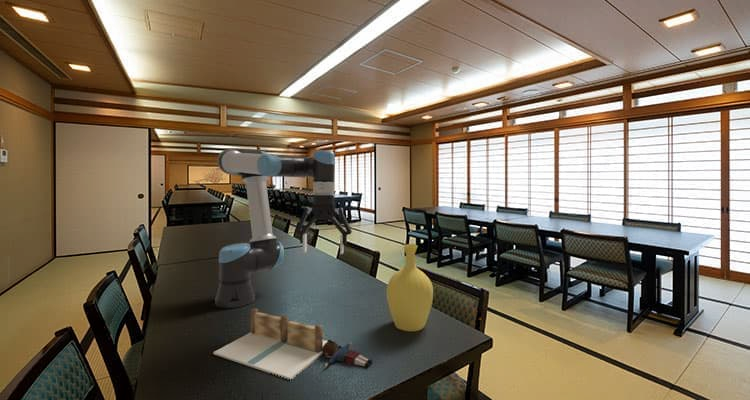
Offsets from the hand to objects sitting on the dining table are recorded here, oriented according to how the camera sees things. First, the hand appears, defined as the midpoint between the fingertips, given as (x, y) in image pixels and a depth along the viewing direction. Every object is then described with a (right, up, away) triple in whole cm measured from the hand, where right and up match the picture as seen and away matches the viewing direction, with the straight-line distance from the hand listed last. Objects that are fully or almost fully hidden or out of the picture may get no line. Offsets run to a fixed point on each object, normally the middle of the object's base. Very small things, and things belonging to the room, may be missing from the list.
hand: (323, 252), depth 118 cm
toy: (+11, -26, -26) cm, 39 cm away
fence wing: (-15, -24, -15) cm, 32 cm away
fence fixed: (-2, -24, -21) cm, 32 cm away
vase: (+31, -25, -4) cm, 40 cm away
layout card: (-11, -25, -21) cm, 35 cm away
